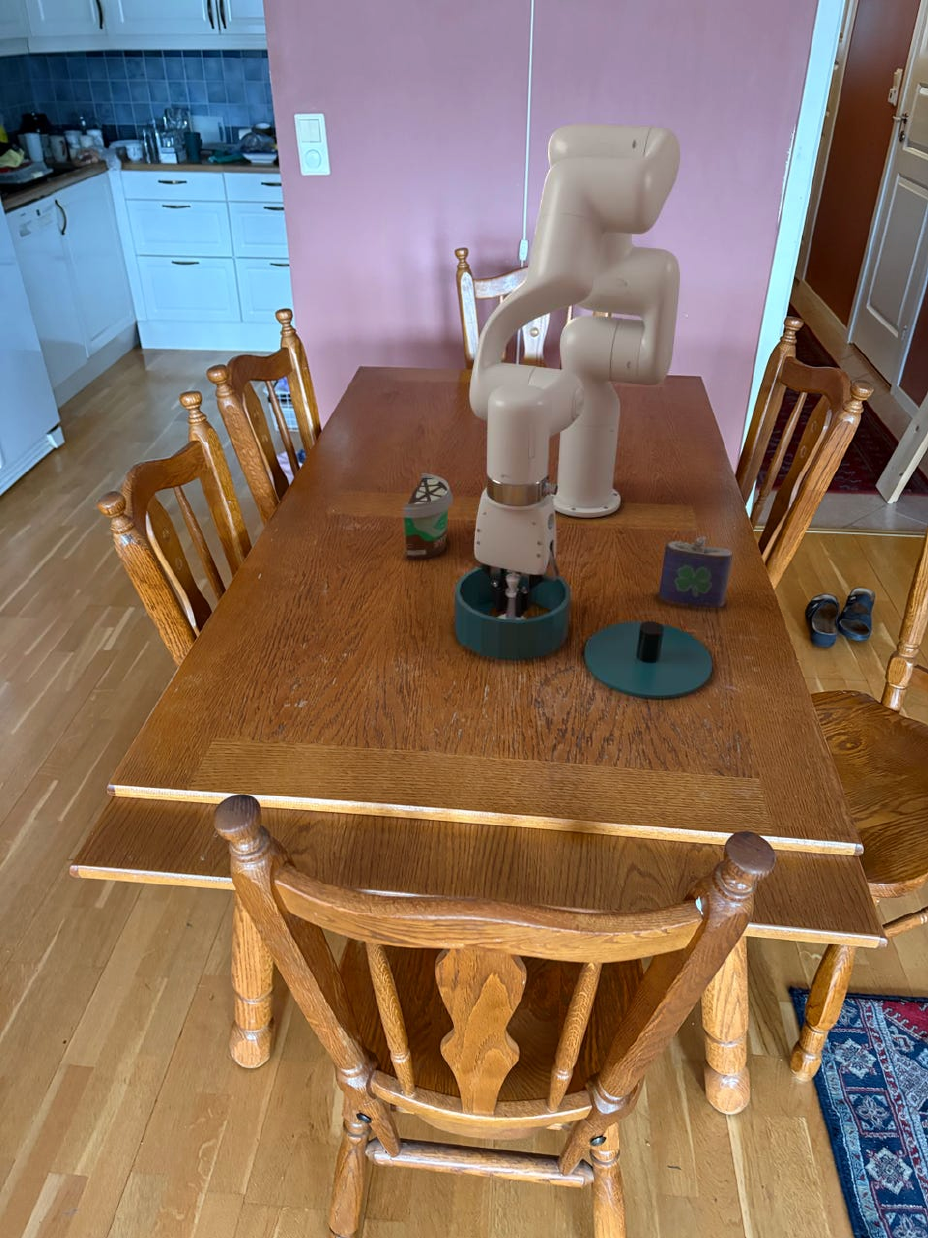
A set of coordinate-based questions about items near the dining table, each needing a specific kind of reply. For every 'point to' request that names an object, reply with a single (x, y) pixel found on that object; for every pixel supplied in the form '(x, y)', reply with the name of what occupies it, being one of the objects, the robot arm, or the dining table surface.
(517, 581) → the chess piece
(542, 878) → the dining table surface
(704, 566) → the flask
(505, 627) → the pot
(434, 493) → the food container
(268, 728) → the dining table surface
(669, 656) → the pot lid
